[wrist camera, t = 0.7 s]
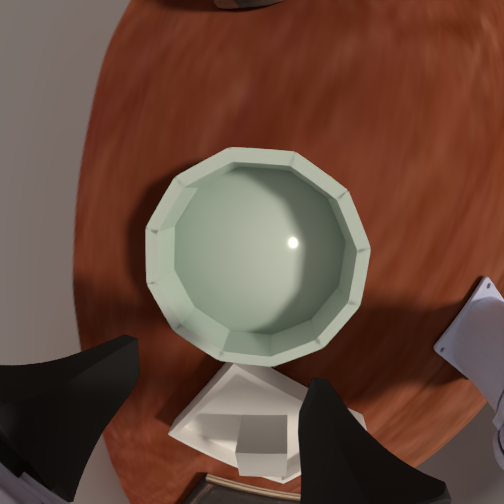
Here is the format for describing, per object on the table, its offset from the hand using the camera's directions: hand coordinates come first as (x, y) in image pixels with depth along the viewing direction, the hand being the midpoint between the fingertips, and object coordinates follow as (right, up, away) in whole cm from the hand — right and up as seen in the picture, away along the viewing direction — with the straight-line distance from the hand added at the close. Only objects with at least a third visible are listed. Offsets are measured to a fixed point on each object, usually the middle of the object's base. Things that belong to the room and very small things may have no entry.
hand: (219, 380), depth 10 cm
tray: (+3, -11, +12) cm, 17 cm away
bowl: (+2, +5, +9) cm, 10 cm away
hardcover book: (-1, -35, +19) cm, 40 cm away
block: (+3, -11, +12) cm, 16 cm away
